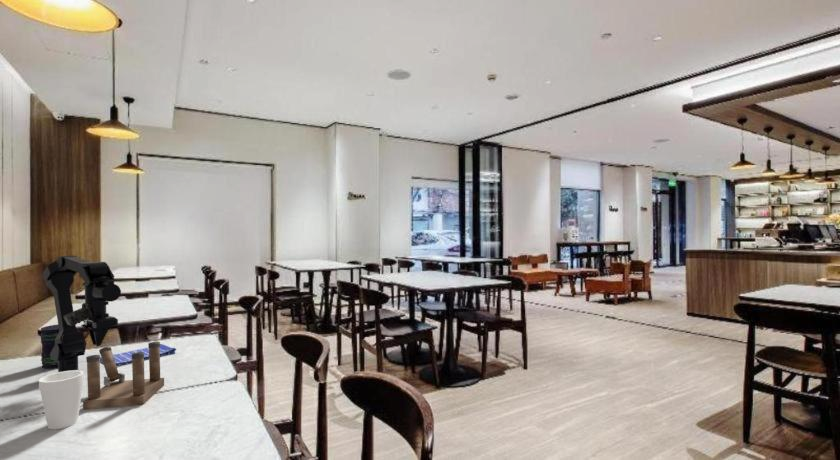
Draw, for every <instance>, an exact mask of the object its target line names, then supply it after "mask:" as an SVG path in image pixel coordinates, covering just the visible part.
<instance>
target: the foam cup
mask: <svg viewBox="0 0 840 460" xmlns="http://www.w3.org/2000/svg"><path fill="white" fill-rule="evenodd" d="M79 370H80V369H78V370H72V371H64V372H58V371H57V372H54V373H50V374H47V375H44V376H42V377H41V378H38V391H40V395H41V400H42V406H43V410H44V416H45V421H46V424H47V429H49V430H60V429H61V430H62V429H65V428H69V427H71V426H74V425H75V424H76V423H77V422H79V415H80V408H81V400H82V395H83V394H82V393H83V386H84V382H85V372H84V370H80V371H79Z"/></svg>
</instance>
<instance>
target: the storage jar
mask: <svg viewBox="0 0 840 460" xmlns="http://www.w3.org/2000/svg"><path fill="white" fill-rule="evenodd" d="M58 333H59V326H58V324H52V325H46V326H43V327H40V344H41V354H40V357H41V359H40V361H41V369H42V368H44V369H43V370H56V369H58V361H54V360H51V357H50V353H51V351H52V349H53V348H54V346H55V339H56V337H57V335H58ZM55 368H56V369H55Z"/></svg>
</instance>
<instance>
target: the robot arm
mask: <svg viewBox="0 0 840 460" xmlns="http://www.w3.org/2000/svg"><path fill="white" fill-rule="evenodd" d="M77 273H78V277H80V278H81V279H82V281H83V282H82V286H83V287H84V302H82V304H81V308H78V309H76V310H74V306H73V300H72V294H71V287H72V285H73V284H74V282H75V276H76V274H77ZM42 278H43V279H42V280H43V281H44V282H45V286H46V287H47V288H48V289H49V290H50V291H51V292H52V294H53V299H54V301H53V302H54V307H55V311H56V318H57V325H58V326H59V333H58V335H57V337H56V339H55V346H54V348H53V349H52V351H51V353H50V357H51V360H54V361H58V368H57V373H58V372H64V371H72V370H79V371H81V370H80V369H79V357H80V356H85V355H86V354H85V353H86V348H87V342H86V341H87V340H86V339H85V336H84V335H85V332H84V331H83V330H81V331H80V330H79V329H78V328H77V325H78V324H80V323H82V322H83V324H81V325H80V326H81V327H83V328H84V329H86V330H87V332H88V335H89V336H90V340H91V343H92V345H93V346H96V347H99V346H101V345H102V344H103V341H104V339H105V337H106V335H107V333H108V331H109V329H110V328H111V327H117V326H119V320H118V318H116V317H115V316H111V315H110V313H107V305H109V302H115V301H117V300H118V299H119V298H120V296H121V294H122V290H121V288H120V286H119V285H118V284H116V283H115V281H116V279H115V274H114V273H113V272H112V270H111V267H110V266H109V265H108V263H107V262H106V261H89V260H86V259H84V258H80V257H77V255H60V256H58V257H57V259H56V260H55V261H53V262H51V263H50V264H48V265H47V266H46V267H45V269H44V270H43V272H42Z"/></svg>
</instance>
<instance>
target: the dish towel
mask: <svg viewBox="0 0 840 460" xmlns="http://www.w3.org/2000/svg"><path fill="white" fill-rule="evenodd" d="M176 350H177V348H176V347H170V346H168V345H166V344H162V343H160V358H162V357H167V356H171V355H175V354H176ZM136 352H144V362H145V361H149V347H148V346H147V347H144V348H140V349H139V348H138V349H133V350H131V351H130V350H129V351H126V352H120V353H115V354H113V357H114V360H115V364H116V367H117V368H118V367H122V366H126V365H130V364H131V365H132V354H133V353H136ZM100 363H102V364H103V361H102V357H101V356H100Z"/></svg>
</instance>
